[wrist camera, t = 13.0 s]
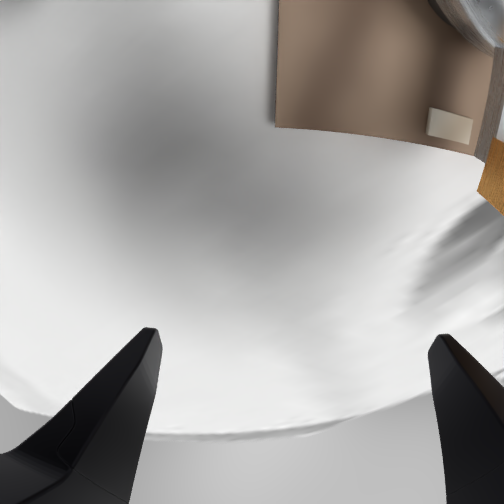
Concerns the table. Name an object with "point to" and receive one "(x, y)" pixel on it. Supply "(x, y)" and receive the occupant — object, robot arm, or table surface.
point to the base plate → (380, 72)
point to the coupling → (500, 89)
